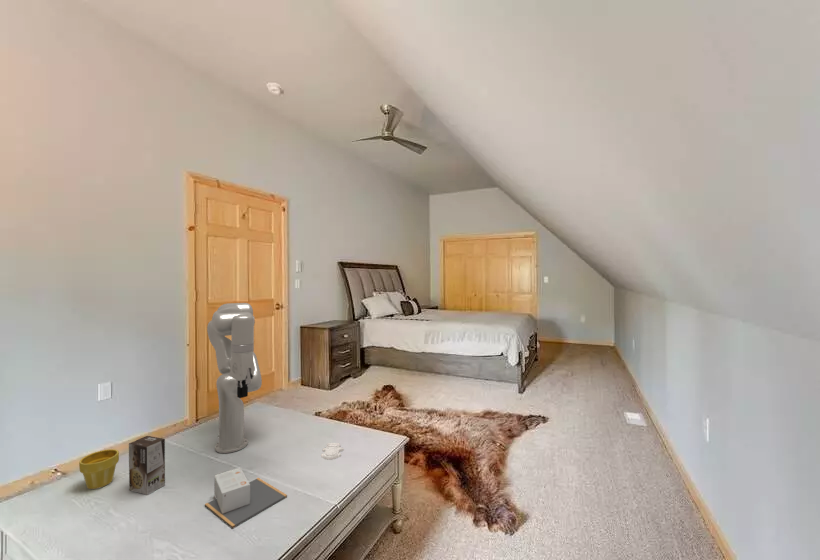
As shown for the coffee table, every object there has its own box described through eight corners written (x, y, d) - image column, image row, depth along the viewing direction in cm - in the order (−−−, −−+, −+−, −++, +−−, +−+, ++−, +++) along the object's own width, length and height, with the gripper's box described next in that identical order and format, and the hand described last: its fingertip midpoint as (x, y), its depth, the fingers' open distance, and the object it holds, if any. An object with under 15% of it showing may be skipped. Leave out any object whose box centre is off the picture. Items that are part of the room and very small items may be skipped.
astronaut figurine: (345, 446, 150) (345, 439, 150) (338, 461, 138) (338, 453, 138) (325, 446, 150) (325, 439, 150) (317, 460, 138) (317, 452, 138)
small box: (214, 494, 115) (221, 514, 105) (214, 474, 115) (221, 493, 105) (240, 485, 120) (250, 504, 110) (240, 466, 120) (250, 484, 110)
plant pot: (73, 496, 115) (73, 466, 115) (86, 479, 124) (86, 452, 124) (113, 488, 119) (113, 459, 119) (123, 473, 129) (122, 446, 129)
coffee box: (166, 484, 121) (166, 438, 121) (146, 495, 115) (146, 447, 115) (147, 479, 124) (147, 434, 124) (128, 490, 118) (127, 442, 118)
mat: (204, 506, 110) (204, 503, 110) (258, 479, 124) (258, 477, 124) (232, 528, 100) (232, 526, 100) (287, 497, 114) (287, 494, 114)
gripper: (223, 346, 132) (223, 394, 132) (242, 353, 122) (241, 404, 123) (243, 343, 138) (243, 389, 138) (262, 349, 128) (262, 399, 129)
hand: (242, 396), depth 130 cm, fingers closed
